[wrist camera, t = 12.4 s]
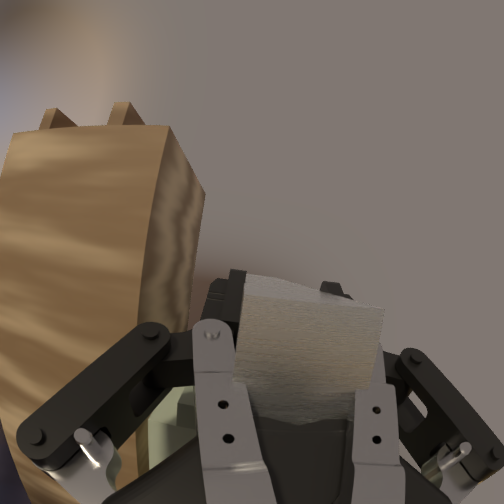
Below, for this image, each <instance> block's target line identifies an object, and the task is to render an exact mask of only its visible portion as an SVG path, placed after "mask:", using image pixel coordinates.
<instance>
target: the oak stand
mask: <svg viewBox="0 0 504 504" xmlns="http://www.w3.org/2000/svg"><path fill="white" fill-rule="evenodd" d="M204 200H205V192H204V190H203V188H202V186H201V184H200V183H199V181H198V179H197V177H196V175H195V173H194V171H193V169H192V168H191V166H190V164H189V162H188V161H187V158H186V157H185V154H184V153H183V151H182V149H181V147H180V145H179V143H178V141H177V139H176V137H175V136H174V134H173V132H172V130H171V128H170V126H160V125H145V123H144V122H143V121H142V119H141V117H140V116H139V115H138V113H137V112H136V110H135V109H134V107H133V106H132V104H131V103H130V102H115V103H114V106H113V108H112V111H111V114H110V117H109V120H108V123H107V125H105V126H103V125H102V126H80V127H78V126H77V125H76V124H75V123H74V122H73V121H71V120H70V119H69V118H68V117H67V116H66V115H64V114H63V113H62V112H61V111H60V110H59V109H57V108H53V109H46V111H45V114H44V116H43V119H42V122H41V124H40V127H39V130H35V131H27V132H19V133H13V136H12V139H11V142H10V145H9V149H8V152H7V155H6V159H5V162H4V165H3V169H2V173H1V177H0V419H1V423H2V426H3V430H4V433H5V437H6V440H7V443H8V446H9V449H10V452H11V455H12V458H13V461H14V463H15V466H16V469H17V471H18V474H19V476H20V479H21V481H22V483H23V486H24V488H25V490H26V492H27V495H28V497H29V499H30V501H31V503H32V504H80V503H79V502H78V501H77V500H76V499H75V498H74V497H72V496H71V495H70V494H69V493H68V492H67V491H66V490H65V489H64V488H63V487H62V486H61V485H60V484H59V483H58V482H57V481H55V480H53V479H51V478H50V477H49V476H48V475H46V474H45V473H44V472H43V471H41V470H40V469H39V468H38V467H37V466H35V465H34V464H33V462H32V461H31V460H30V459H29V458H28V457H27V456H26V455H24V454H23V453H22V452H21V450H20V449H19V447H18V445H17V442H16V432H17V429H18V427H19V425H20V424H21V423H22V422H23V421H24V420H25V419H26V418H28V417H29V416H30V415H31V414H32V413H33V412H35V411H36V410H37V409H38V408H39V407H40V406H42V405H43V404H44V403H45V402H46V401H47V400H49V399H50V398H51V397H52V396H53V395H54V394H56V393H57V392H58V391H59V390H60V389H62V388H63V387H64V386H65V385H66V384H67V383H69V382H70V381H71V380H72V379H73V378H75V377H76V376H77V375H78V374H79V373H80V372H82V371H83V370H84V369H85V368H86V367H88V366H89V365H90V364H91V363H92V362H94V361H95V360H96V359H97V358H98V357H100V356H101V355H102V354H103V353H104V352H106V351H107V350H108V349H109V348H110V347H112V346H113V345H114V344H115V343H117V342H118V341H119V340H120V339H121V338H123V337H124V336H125V335H126V334H127V333H129V332H130V331H131V330H132V329H133V328H135V327H136V326H137V325H139V324H141V323H145V322H157V323H160V324H163V325H164V326H166V327H167V328H168V330H169V332H170V333H177V332H185V331H187V328H188V318H189V309H190V300H191V292H192V284H193V276H194V268H195V260H196V253H197V246H198V239H199V232H200V226H201V219H202V213H203V207H204ZM151 414H152V413H151ZM151 414H150V415H149V416H148V417H147V418H146V419H145V421H144V422H143V423H142V424H141V425H140V426H139V427H138V428H137V429H136V431H135V432H134V433H133V434H132V435H131V436H130V437H129V438H128V439H127V440H126V441H125V443H124V444H123V445H122V446H121V447H120V448H119V449H118V450H117V451H118V452H119V454H120V456H121V459H122V467H121V470H120V471H119V473H118V475H117V477H116V481H115V485H116V489H117V491H118V490H119V489H121V488H123V487H124V486H126V485H127V484H129V483H130V482H132V481H134V480H135V479H137V478H138V477H140V476H141V475H143V474H144V473H146V472H147V471H149V447H148V419H149V417H150V416H151Z"/></svg>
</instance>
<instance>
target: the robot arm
mask: <svg viewBox="0 0 504 504" xmlns="http://www.w3.org/2000/svg"><path fill="white" fill-rule="evenodd" d="M246 272H247V271H242V270H235V269H231V270H230V275H229V279H228V280H227V279H220V278H217V279H216V280H215V281H213V282H212V283H211V285H210V288H209V292H208V295H207V299H206V302H205V306H204V309H203V312H202V315H201V319H200V321H199V322H197V323H196V324H195V325H194V327H193V329H191V330H189V331H185V332H177V333H170V332H169V330H168V328H167V327H166V326H164V325H163V324H160V323H157V322H145V323H141V324H139V325H137V326H136V327H135V328H133V329H132V330H131V331H130V332H129V333H127V334H126V335H125V336H124V337H123V338H121V339H120V340H119V341H118V342H117V343H115V344H114V345H113V346H112V347H110V348H109V349H108V350H107V351H106V352H104V353H103V354H102V355H101V356H100V357H98V358H97V359H96V360H95V361H94V362H92V363H91V364H90V365H89V366H88V367H86V368H85V369H84V370H83V371H82V372H80V373H79V374H78V375H77V376H76V377H75V378H73V379H72V380H71V381H70V382H69V383H67V384H66V385H65V386H64V387H63V388H62V389H60V390H59V391H58V392H57V393H56V394H54V395H53V396H52V397H51V398H50V399H49V400H47V401H46V402H45V403H44V404H43V405H42V406H40V407H39V408H38V409H37V410H36V411H35V412H33V413H32V414H31V415H30V416H29V417H28V418H26V419H25V420H24V421H23V422H22V423H21V424H20V425H19V427H18V429H17V432H16V442H17V445H18V447H19V449H20V450H21V452H22V453H23V454H24V455H26V456H27V457H28V458H29V459H30V460H31V461H32V462H33V464H34V465H35V466H37V467H38V468H39V469H40V470H41V471H43V472H44V473H45V474H46V475H48V476H49V477H50V478H51V479H53V480H55V481H57V482H58V483H59V484H60V485H61V486H62V487H63V488H64V489H65V490H66V491H67V492H68V493H69V494H70V495H71V496H72V497H74V498H75V499H76V500H77V501H78V502H79V503H80V504H459V503H460V502H461V501H462V500H463V499H464V498H465V497H466V496H467V495H468V494H469V493H470V492H471V491H472V490H473V489H474V488H475V486H477V485H478V484H480V483H481V482H483V481H484V480H486V479H487V478H489V477H490V476H492V475H493V474H495V473H496V472H497V471H499V470H500V469H501V468H502V467H503V466H504V446H503V444H502V443H501V442H500V440H499V439H498V438H497V437H496V435H495V434H494V433H493V432H492V430H491V429H490V428H489V427H488V425H487V424H486V423H485V422H484V421H483V419H482V418H481V417H480V416H479V415H478V413H477V412H476V411H475V410H474V409H473V408H472V406H471V405H470V404H469V403H468V402H467V401H466V400H465V398H464V397H463V396H462V395H461V394H460V393H459V391H458V390H457V389H456V388H455V387H454V386H453V385H452V383H451V382H450V381H449V380H448V379H447V378H446V377H445V376H444V375H443V373H442V372H441V371H440V370H439V369H438V368H437V367H436V366H435V365H434V364H433V363H432V361H431V360H430V359H429V358H428V357H427V356H426V355H425V354H424V353H423V352H421V351H420V350H418V349H414V348H406V349H404V350H403V351H402V352H401V354H400V355H395V354H391V353H388V352H385V351H383V350H382V346H381V344H380V343H379V345H378V350H377V354H376V359H375V363H374V368H373V372H372V376H371V380H370V384H369V388H368V389H359V390H355V392H354V395H353V397H352V400H351V403H350V405H349V408H348V410H347V414H348V418H347V419H326V420H322V421H317V422H313V423H308V424H303V425H294V424H290V423H286V422H282V421H278V420H275V419H271V418H268V417H260V416H253V415H252V411H251V406H250V401H249V397H248V392H247V387H246V384H244V383H235V382H232V381H233V372H234V371H233V370H234V362H235V349H236V342H237V335H238V328H239V320H240V312H241V304H242V295H243V287H244V283H245V281H246ZM320 291H323V292H326V293H330V294H334V295H337V296H341V297H344V298H348V299H351V300H353V299H352V298H351V297H350V296H349V295H347V294H344V293H343V291H342V288H341V286H340V284H339V283H335V282H327V281H323V282H322V285H321V288H320ZM185 386H193V393H194V409H195V425H196V436H195V437H194V438H193V439H191V440H190V441H189V442H187V443H186V444H185V445H183V446H182V447H181V448H179V449H178V450H177V451H175V452H174V453H173V454H171V455H170V456H169V457H167V458H166V459H164V460H163V461H162V462H160V463H159V464H157V465H156V466H154V467H153V468H152V469H150V470H149V471H147V472H146V473H144V474H143V475H141V476H140V477H138V478H137V479H135V480H134V481H132V482H130V483H129V484H127V485H126V486H124V487H123V488H121V489H119V490H118V491H117V489H116V485H115V481H116V477H117V475H118V473H119V471H120V470H121V467H122V459H121V456H120V454H119V452H118V451H117V450H118V449H119V448H120V447H121V446H122V445H123V444H124V443H125V441H126V440H127V439H128V438H129V437H130V436H131V435H132V434H133V433H134V432H135V431H136V429H137V428H138V427H139V426H140V425H141V424H142V423H143V422H144V421H145V419H146V418H147V417H148V416H149V415H150V414H151V413H152V412H153V411H154V409H155V408H156V407H157V406H158V405H159V404H160V403H161V401H162V400H163V399H164V398H165V397H166V396H167V395H168V394H169V392H170V391H171V390H172V389H173V387H185ZM412 391H414V392H415V394H416V395H417V396H418V397H419V399H420V400H421V401H422V402H423V403H424V405H425V406H426V408H427V411H428V414H427V417H426V418H424V416H423V415H422V414H421V413H420V411H419V410H418V409H417V407H416V406H415V405H414V404H413V402H412V401H411V400H410V399H409V397H408V396H409V395H410V393H411V392H412ZM399 439H400V440H401V442H402V443H403V445H404V446H405V448H406V449H407V450H408V452H409V453H410V455H411V456H412V457H413V459H414V460H415V462H416V463H417V464H418V466H419V467H420V469H421V473H419V472H418V471H417V470H416V469H415V468H414V467H412V466H411V465H410V464H409V463H408V462H407V461H405V460H404V459H403V458H402V457H401V456H400V455H399Z"/></svg>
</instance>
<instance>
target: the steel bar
mask: <svg viewBox="0 0 504 504" xmlns="http://www.w3.org/2000/svg"><path fill="white" fill-rule="evenodd" d="M384 311H385V309H382V308H379V307H375V306H372V305H368V304H365V303H361V302H358V301H354V300H351V299H348V298H344V297H341V296H337V295H334V294H330V293H326V292H323V291H320V290H316V289H313V288H310V287H306V286H303V285H300V284H296V283H293V282H290V281H286V280H283V279H279V278H275V277H267V276H259V275H252V274H246V281H245V283H244V287H243V295H242V304H241V312H240V320H239V328H238V335H237V342H236V349H235V362H234V370H233V371H234V372H233V381H232V382H235V383H244V384H246V387H247V392H248V397H249V401H250V406H251V411H252V415H253V416H260V417H268V418H271V419H275V420H278V421H282V422H286V423H290V424H294V425H303V424H308V423H313V422H317V421H322V420H326V419H347V418H348V414H347V410H348V408H349V405H350V403H351V400H352V397H353V395H354V392H355V390H359V389H368V388H369V384H370V380H371V376H372V372H373V368H374V363H375V359H376V354H377V350H378V345H379V339H380V334H381V329H382V323H383V317H384Z"/></svg>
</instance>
